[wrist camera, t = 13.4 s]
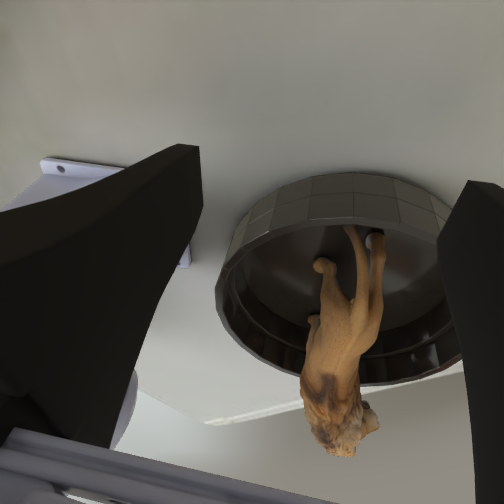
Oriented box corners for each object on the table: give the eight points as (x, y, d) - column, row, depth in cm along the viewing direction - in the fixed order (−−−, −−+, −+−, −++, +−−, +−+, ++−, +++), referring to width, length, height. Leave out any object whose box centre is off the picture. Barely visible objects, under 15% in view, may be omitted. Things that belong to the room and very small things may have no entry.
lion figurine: (372, 351, 29) (381, 472, 22) (308, 346, 30) (298, 459, 24) (390, 203, 20) (415, 335, 13) (296, 205, 21) (275, 327, 14)
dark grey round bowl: (232, 316, 31) (218, 362, 28) (230, 151, 20) (209, 195, 17) (417, 350, 29) (426, 403, 26) (526, 189, 18) (565, 246, 15)
